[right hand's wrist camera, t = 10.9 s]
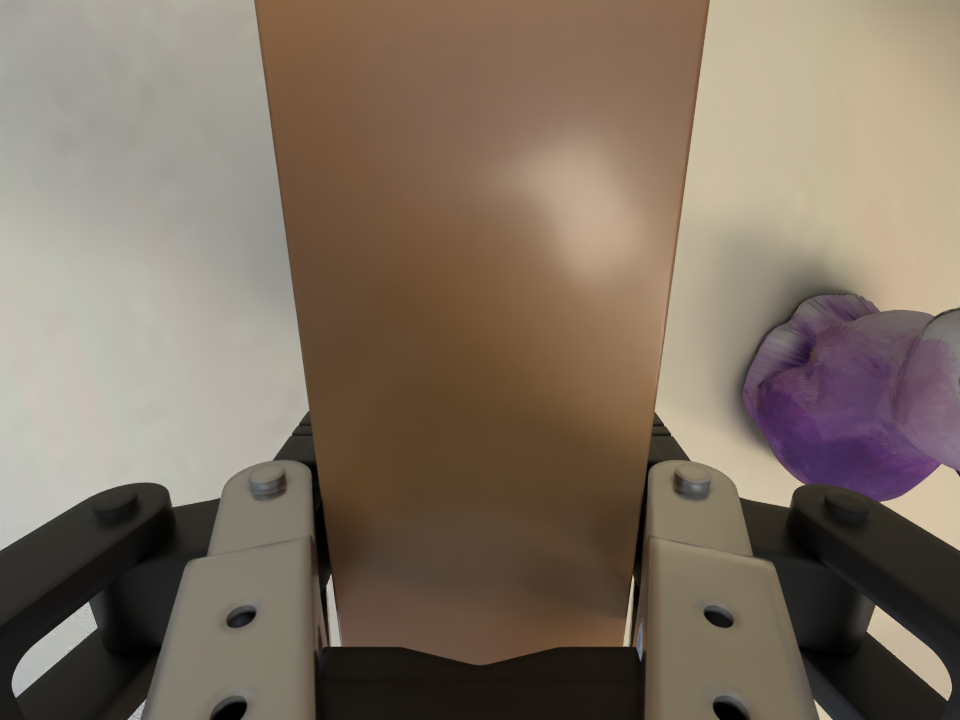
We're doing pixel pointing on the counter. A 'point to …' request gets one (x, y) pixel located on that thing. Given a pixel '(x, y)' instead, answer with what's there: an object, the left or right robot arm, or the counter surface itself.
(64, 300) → the counter surface
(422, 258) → the post
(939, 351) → the figurine
